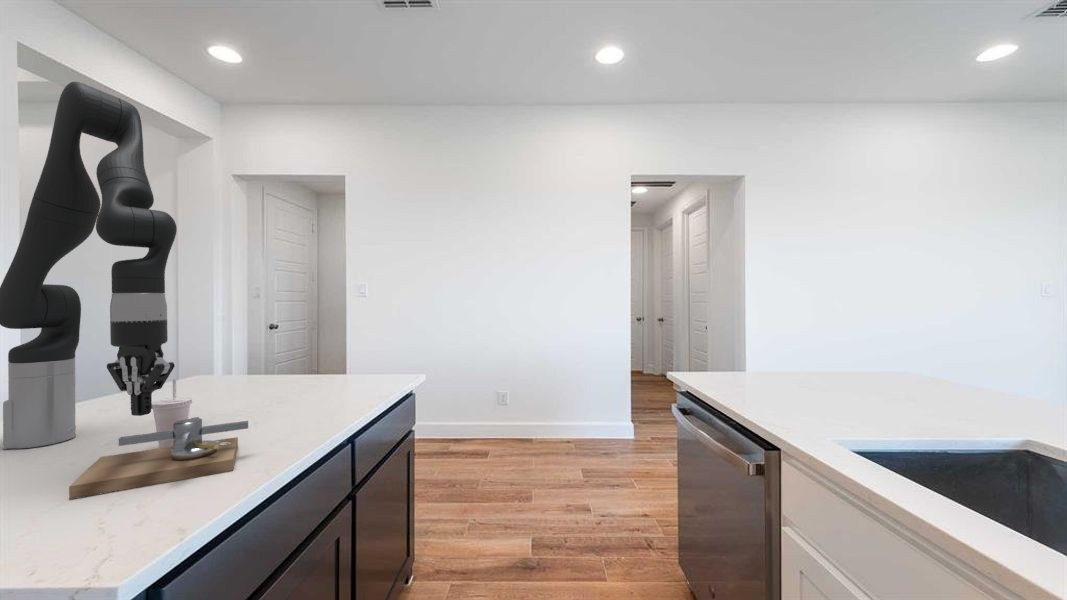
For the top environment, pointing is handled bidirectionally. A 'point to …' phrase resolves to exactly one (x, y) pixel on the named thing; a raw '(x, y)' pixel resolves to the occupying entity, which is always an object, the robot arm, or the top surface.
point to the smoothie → (170, 414)
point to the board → (151, 469)
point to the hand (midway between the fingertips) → (141, 414)
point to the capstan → (186, 437)
